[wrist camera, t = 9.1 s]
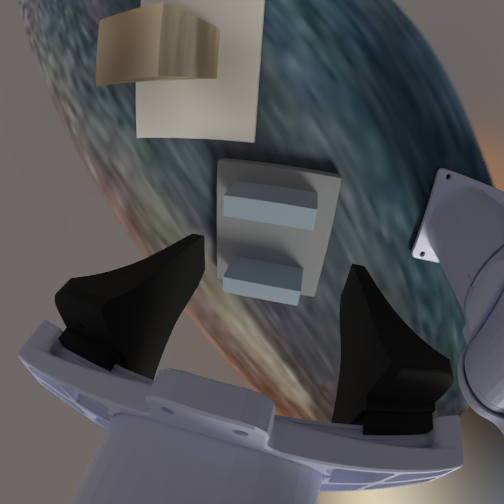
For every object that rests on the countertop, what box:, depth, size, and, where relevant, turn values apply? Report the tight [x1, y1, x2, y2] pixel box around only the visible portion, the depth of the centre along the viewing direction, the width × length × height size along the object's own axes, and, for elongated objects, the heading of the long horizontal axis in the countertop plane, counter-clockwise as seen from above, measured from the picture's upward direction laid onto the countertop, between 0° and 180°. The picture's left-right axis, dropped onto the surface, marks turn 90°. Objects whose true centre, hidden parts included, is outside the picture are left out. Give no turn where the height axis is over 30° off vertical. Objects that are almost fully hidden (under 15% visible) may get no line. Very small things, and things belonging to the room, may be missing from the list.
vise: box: [217, 158, 342, 306], centre depth 21 cm, size 9×11×4 cm
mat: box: [136, 0, 265, 143], centre depth 16 cm, size 10×14×1 cm
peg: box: [96, 2, 220, 86], centre depth 13 cm, size 4×4×8 cm
